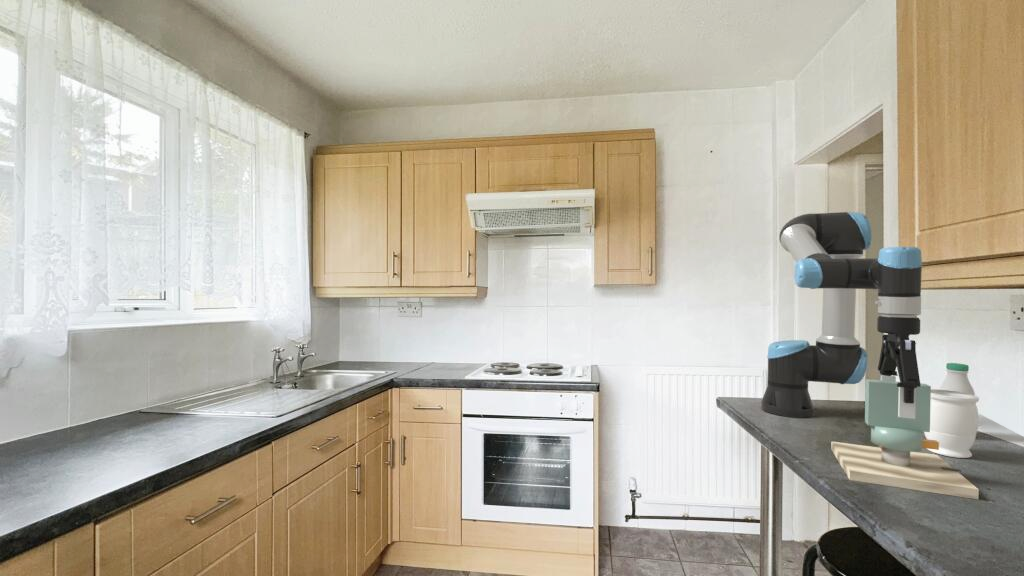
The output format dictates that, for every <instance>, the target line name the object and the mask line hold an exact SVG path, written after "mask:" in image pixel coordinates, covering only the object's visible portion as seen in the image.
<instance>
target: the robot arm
mask: <svg viewBox="0 0 1024 576" xmlns="http://www.w3.org/2000/svg"><path fill="white" fill-rule="evenodd" d="M872 236H873V235H872V228H871V224H870V221H869V219H868V217H867V216H866V215H865V214H864V213H862V212H854V211H853V212H851V211H845V212H841V211H840V212H824V213H806V214H801V215H798V216H795V217H794V218H792V219H790V220H789V221H788V222H786V223H785V224H784V225H783V227H782V228H781V229H780V232H779V236H778V237H779V238H778V239H779V243H780V245H781V246H782V248H783V250H785V251H786V252H788V253H790V254H791V257H792V258H793V260H794V261H795V265H794V272H793V273H794V282H795V285H796V286H797V287H799V288H803V289H811V290H815V289H816V290H817V289H822V313H821V315H822V316H821V320H822V321H821V324H822V325H821V335H820V336H819V337H817V338H816V340H815V345H812V344H810V343H809V341H808V340H803V339H798V340H796V339H795V340H794V339H790V340H781V341H774V342H771V343H770V344H769V346H768V347H767V348H768V349H767V356H766V358H767V382H766V383H767V386H766V388H765V392H764V393H763V396H762V399H761V403H760V409H761V410H762V411H764V412H766V413H770V414H773V415H777V416H781V417H790V418H811V417H814V416H815V407H814V403H813V401H812V398H811V395H810V392H809V382H814V383H816V382H817V383H831V384H840V385H845V384H846V385H855V384H858V383H860V382H861V381H862V380H863V379H864V377H865V375H866V372H867V369H868V353H867V350H866V349H865V348H863V347H861V342H860V341H859V340H858V339H857V338H856V337H855V322H856V321H855V320H856V296H857V295H856V292H857V291H856V290H877V296H878V297H877V299H878V300H875V301H874V304H875V305H876V306H877V313H878V314H879V315H880V316H878V317H877V321H876V322H877V323H876V325H877V327H876V330H877V332H878V333H880V334H882V337H881V338H882V341H881V342H882V343H881V349H880V354H879V359H878V366H877V369H878V372H879V374H880V380H882V381H895V382H898V383H897V387H899V400H898V417H901V418H911V419H915V409H916V388H917V387H920V385H921V384H922V383H921V379H920V373H919V371H920V370H919V366H918V360H917V359H918V358H917V352H916V349H917V348H916V345H917V341H915V340H913V339H912V340H910V336H911V335H913V336H914V335H915V336H917V335H919V334H921V319H920V318H919V317H918V316H921V314H922V297H921V296H922V295H921V293H922V269H923V268H922V267H923V264H924V263H923V261H922V260H923V259H922V250H921V248H919V247H918V246H917V247H916V246H894V247H893V246H891V247H890V246H889V247H883V248H880V249H879V252H878V258H876V257H875V258H862V257H863V255H864V251H866V250H868V249H870V247H871V245H872V243H871V242H872ZM896 370H897V371H896ZM897 377H898V378H899V381H896V380H897ZM899 382H900V383H899Z"/></svg>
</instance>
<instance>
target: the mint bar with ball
mask: <svg viewBox="0 0 1024 576" xmlns="http://www.w3.org/2000/svg"><path fill="white" fill-rule="evenodd" d="M898 382H899V383H900V381H896V382H895V381H882V380H881V379H867V378H866V379H865V390H864V391H865V394H864V396H865V398H864V399H865V401H864V402H865V405H864V423H865V424H866V425H867V426H870V441H871V442H872V443H873V444H874V445H876V446H878V447H879V446H882V447H885V448H889V449H893V450H899V451H908V452H922V451H923V449H927V450H928V449H935V450H939V442H937V441H936V440H928V439H927V438H923V433H924V432H930V402H931V389H932V387H931V385H929V384H927V383H921V385H920V387H917V388H916V409H915V419H911V418H901V417H898V400H899V387H897V383H898Z"/></svg>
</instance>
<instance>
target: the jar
mask: <svg viewBox="0 0 1024 576" xmlns="http://www.w3.org/2000/svg"><path fill="white" fill-rule="evenodd" d="M979 401H980V397H979V396H977V395H976V394H975V395H972V394H968V393H962V392H957V391H949V390H939V389H933V388H931V402H930V432H923V433H924V436H925V439H928V440H936V441H937V442H939V450H935V449H927V451H930V452H931V453H934V454H936V455H941V456H945V457H951V458H958V459H967V458H971V457H972V456H973V454H972V452H971V451H970V449H971V448H973V447H972V446H974V444H975V442H976V437H977V433H978V431H979V430H978V429H979V422H980V421H979V420H980V419H979V410H978V407H977V403H978V402H979Z"/></svg>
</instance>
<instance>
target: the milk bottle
mask: <svg viewBox="0 0 1024 576" xmlns="http://www.w3.org/2000/svg"><path fill="white" fill-rule="evenodd" d="M969 368H970V367H969V365H968V364H965V363H957V362H955V363H954V362H948V363H946V369H945V370H946V372H947V374H946V377H945V379H944V380H943V382H942V383H941V384H940V387H939V389H938V390H949V391H957V392H962V393H968V394H972V395H975V396H976V393H975V390H974V388H973V386H972V385H971V383H970V380H969V377H968V373H969Z"/></svg>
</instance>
